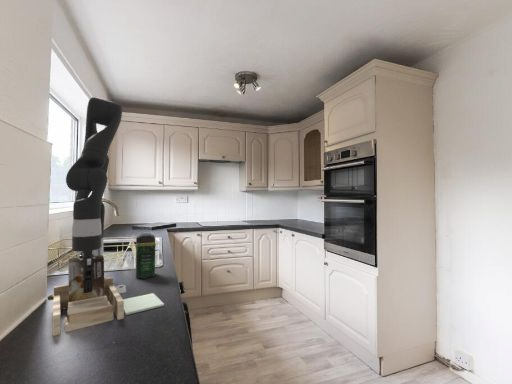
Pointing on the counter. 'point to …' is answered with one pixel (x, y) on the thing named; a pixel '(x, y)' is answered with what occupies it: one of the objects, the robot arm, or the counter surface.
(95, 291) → the coffee box
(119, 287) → the kitchen cleaver
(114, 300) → the pine rack
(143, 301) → the sage mat
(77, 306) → the offcut stack
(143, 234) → the coffee jar
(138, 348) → the counter surface
